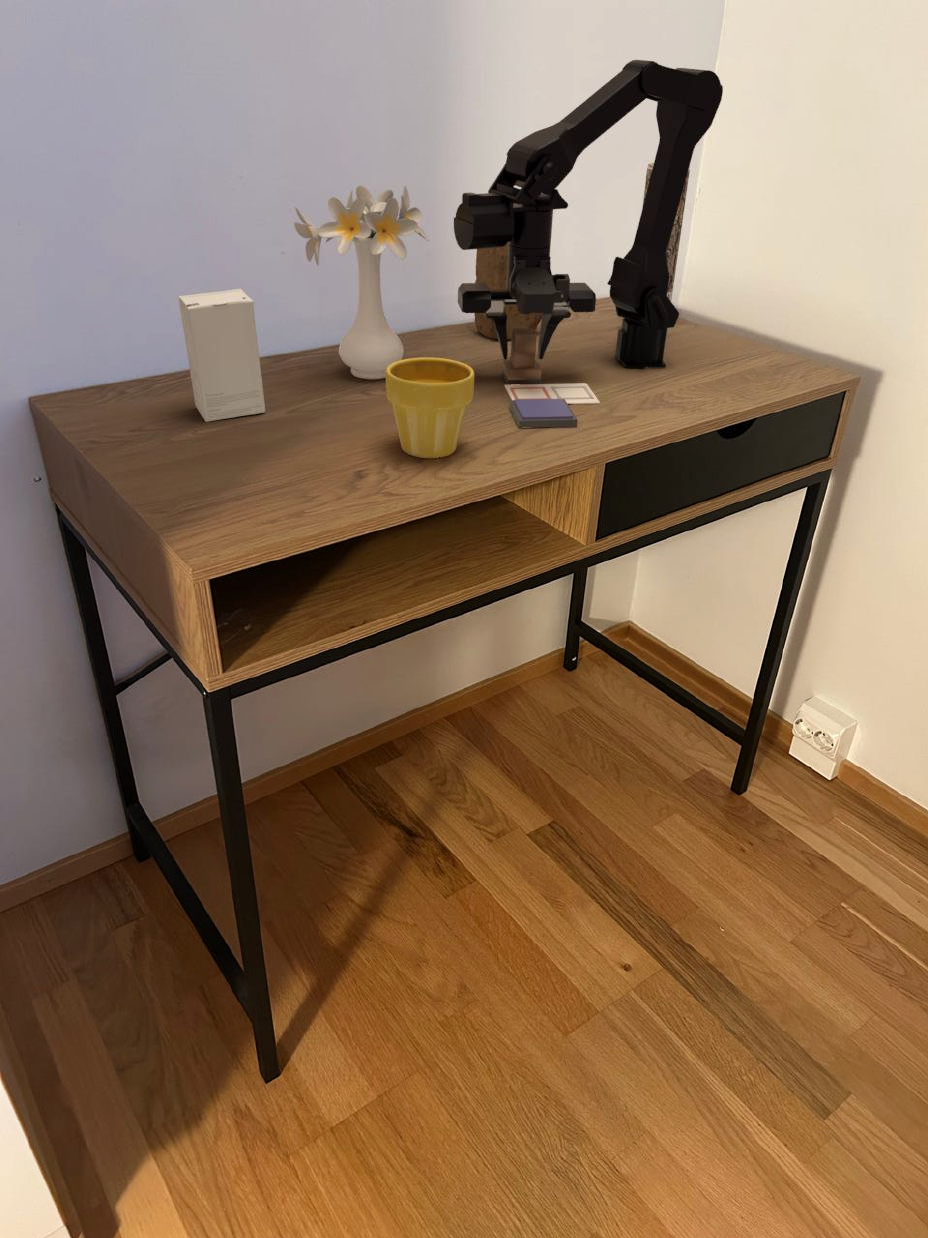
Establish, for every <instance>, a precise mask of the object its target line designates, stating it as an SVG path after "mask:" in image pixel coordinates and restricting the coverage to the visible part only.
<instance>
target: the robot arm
mask: <svg viewBox="0 0 928 1238" xmlns="http://www.w3.org/2000/svg"><path fill="white" fill-rule="evenodd" d="M723 92H724V86H723V84H722V82H721V80H720V77H719V76H718V75H717V74H716V72H714V71H712V70H709V69H707V70H706V69H696V68H686V67H676V68H672V67H668V66H664V65H662V64H659V63H658V62H657V61H655V60H654V61H653V60H644V59H643V60H642V59H632V60H630V61H628V63H626V64H625V65H624V66H623V68H622V70H621V71H619V72H618V73H617V74H616V75H614V76H613V77H612V78H611V79H609V80H608V82H606V83H605V84H604V85H602V86H601V87H600V88H598V90H596V91H595V92H594V93H592V95H590V96H589V97H588V98H586V99H585V100H584V101H583V102H581V103H580V104H579V105H578V106H577V107H575V108H574V109H573V110H572V111H570V112H569V113H568V114H567V115H565V116H564V118H562V119H560V121H558V122H556V123H555V124H552V125H550V126H548V127H545V128H542V129H540V130H536V131H535V132H534V131H533V132H532V133H530V134H529V135H527V136H524V137H523V138H521V139H519V140H517V141H516V142H515V143H514V144H512V146H511V147H509V149H508V151H507V152H506V161H505V163H504V165H503V167H502V168H501V170H500V171H499V173H498V175H497V176H496V178H495V179H494V181H493V182H492V185H490V187H489V189H488V191H487V192H486V193H474V192H463V193H462V194H461V195H462V197H461V203H460V204H459V205H458V207H457V209H456V212H455V217H453V232H454V233H453V234H454V237H455V241H456V244H457V245H458V247H459V248H460V249H461V250H463V251H469V250H477V249H484V248H496V247H504V246H505V245H506V244H507V243H508V242H509V246H508V266H507V283H506V290H490V289H489V287H488V286H487V284H486V283H475V282H469V283H468V282H466V283H465V282H462V283H461V284H460V285H459V287H457V288H458V290H457V304H458V306H459V308H460V311H461V313H464V314H474V313H483V314H484V316H485V317H486V318H488V319H492V322H493V324H494V327H495V330H496V333H497V337H498V339H497V340H498V344H499V347H500V350H501V355H502V358H503V360H508V349H509V348H508V347H509V346H508V345H509V344H508V340H507V327H506V323H507V314H506V313H505V311H504V304H517V309H518V311H519V312H520V313H522V314H530V313H542V318H541V321H540V328H539V336H538V343H537V344H538V347H537V348H538V351H537V353H538V355H537V357H538V359H539V360H542V359H543V358H544V355H545V353H546V351H547V348H548V346H549V344H550V341H551V339H552V337H553V335H554V333H555V331H556V329H557V327H558V326H559V324H560V323H561V322H562V321H563V320H564V319H569V318H571V317H572V313H571V312H570V309H571V311H572V312H573V313H594V312H596V303H597V297H596V296H597V295H596V293H595V292H594V290H593V289H592V288H591V287H590V286H589V285H588V284H587V283H586V282H571V278H570V275H569V274H568V273H555V274H553V273H552V269H551V268H552V267H551V266H552V265H551V258H552V257H551V243H552V242H551V241H552V233H553V232H552V230H553V217H554V216H553V215H554V210H565V209H567V208H568V207H569V204H568V202H567V201H566V200H565V198H563V197H562V196H561V194H560V192H559V189H557V188H558V186H560V184H561V183H562V182H563V181H564V180H565V178H566V177H567V176H568V175H569V174H570V173H571V172H572V171H573V169H574V166H575V165H576V162H577V160H578V158H579V156H580V155H581V154H582V153H583V151H584V150H586V148H588V147H589V146H590V145H591V144H593V143H594V142H595V141H596V140H598V139H599V138H600V137H601V136H603V134H605V133H606V132H607V131H609V130H610V129H611V128H613V126H615V125H616V124H617V123H619V122H620V121H621V120H622V119H623V118H624V117H625V116H627V115H628V114H629V113H630V112H631V111H633V110H634V109H635V108H637V107H638V106H639V105H640V104H641V103H642V102H644V101H645V100H650V101H654V102H657V103H656V113H655V118H656V123H657V128H658V134H659V140H658V146H657V150H656V154H655V157H654V162H653V163H654V165H653V169H652V173H651V177H650V181H649V185H648V189H647V193H646V196H645V200H644V204H643V203H642V207H643V208H641V213H640V217H639V221H638V225H637V229H636V232H635V236H634V241H633V244H632V247H631V248H630V249H629V250H628V252H627V253H626V254H625V256H624V257H623V258H622V257H620V256H615V258H614V261H613V265H612V272H611V276H610V278H609V280H608V282H607V285H608V286H610V287H609V297H610V299H611V301H612V303H613V304H614V306H615V311H616V315H617V317H620V318H622V321H621V323H622V324H621V328H619V329H618V330H617V337H616V345H615V353H614V356H615V358H617V359H618V361H619V363H621V365H622V366H623V367H625V368H627V369H629V368H631V369H634V368H636V369H637V368H638V369H639V368H666V367H667V363H666V361H664V356H665V346H666V341H667V333H668V329H670V328H674V327H675V326H676V323H677V321H678V319H679V316H680V312H679V310H678V309H677V308H676V306H675V305H674V303H672V300H671V301H670V300H669V298H668V297H667V292H668V285H669V270H668V265H667V259H666V252H667V248H668V244H669V240H670V237H671V233H672V229H673V226H674V222H675V218H676V214H677V211H678V207H679V203H680V200H681V196H682V192H683V189H684V185H685V181H686V177H687V174H688V170H689V169H690V168H689V166H690V165H691V162H692V159H693V155H694V151H695V148H696V146H697V144H698V143H699V142H700V140H702V138H703V136H704V135H705V134H706V133H707V132H708V130H710V128H711V126H712V125H713V122H714V120H715V117H716V115H717V112H718V110H719V107H720V104H721V102H722V100H723V99H722V98H723ZM690 167H691V166H690ZM518 187H519V188H518ZM512 297H515V298H512Z"/></svg>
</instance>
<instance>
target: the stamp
mask: <svg viewBox="0 0 928 1238" xmlns="http://www.w3.org/2000/svg"><path fill="white" fill-rule="evenodd" d="M537 336H538V334H537V333H536V330H535V331H534V330H533V329H512V340H511V344H510V359H506V360H504V359H503V360H502V372H501V373H502V376H503V378H504V380H505V382H506V385H508V384H509V385H511V384H542V383H541V382H542V371H543V370H542V368H541V366H540V365H539V363H538V361H537V359H536V352H537V351H536V350H537V339H538V337H537Z"/></svg>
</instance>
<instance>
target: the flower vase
mask: <svg viewBox="0 0 928 1238" xmlns="http://www.w3.org/2000/svg"><path fill="white" fill-rule="evenodd" d="M355 195H356V199H354V200H353V190H350V193H349V197H348V199H347V204H346V206H345V205H344V203H343V202H342V201H341V200H340V199H339V198H338V197H335V196H331V197H330V198H329V199H328V202H327V206H328V211H329V212H330V215H332V218H333V219H334V220H335V221H332V220H331V221H327V222H325V223H324V224H321V225H320V226H319V227H317V226H315V225H314V224H313V222H311V221H310V219H308V218H307V217H306V216H305V215H304V214H303V213H302V212H301V211H300V210H299V208H298V207H297V206H296V207H294V208H295V212H296V214H297V216H298V219H299V220H300V221H301V222H298V221H295V222H294V224H293V226H294V229H295V231H296V232H297V234H298V235H299V236H300V237H301V238H304V239H308V240H307V241H306V243H305V256H306V259H307V261H308V262H312V260H313V257H314V259H315V262H316V265H317V266H319V265H320V250H321V243H322V239H323V238H325V239H326V241H325V243H328V242H330V241H331V240H333V239H334V238H336V237H337V238H338V239H337V242H336V249H337V252H338V254H339V255H340V256H345V255H346V254H347V253H348V252H349V250H350V248H351V246H352V243H353V244H354V247H355V248H354V249H355V252H356V258H357V265H358V266H357V267H358V305H357V306H358V307H357V312H356V316H355V319H354V322H353V324H352V326H351V327H350V329H349V330H348V331H347V332H346V333H345V334H344V335H343V336H342V338H341V341H340V343H339V348H338V355H339V357H340V358H341V361H342V362H343V363H344V364H345V365H346V366H348V367H349V368H350V373H351V375H352V376H354V377H356V378H358V379H362V380H363V379H364V380H381V379H386V369H387V367H388V366H389V365H390V364H392V363H394V362H397V361H400V360H403V357H404V356H403V355H404V352H405V350H404V345H403V343H402V341H401V339H400V337H399V336H398V335H397V333H396V332H395V331H394V330H393V329H392V328H391V327H390V325H389V323H388V321H387V318H386V315H385V312H384V309H383V302H382V300H383V299H382V290H381V286H382V285H381V259H382V258H381V256H382V253H383V251H384V250H385V249H386V247H387V246H388V247H389V249H390V251H391V252H392V254H393V255H394V256H395V257H396V258H397V259H399V260H405V259H406V258H407V253H408V252H407V248H406V245H405V243H404V240H402V238H401V237H406V236H410V235H412V234H414V233H416V234H418V235H419V236H420V237H421V238H423V239H424V240H426V242H429V238H428V235H427V233H426V232H425V231H424V229H423V228H422V227H421V226H420V225H419V224H418V223H420V222H422V220H423V214H422V212H421V210H420V209H419V208H418V207H414V206H413V207H410V205H411V200H410V195H409V191H408V189H407V186H405V185H404V186H403V191H402V194H401V195H400V206H399V201H398V200H397V198H395V197H394V191H393V190H391V189H385V190H383V191H382V192H380V193H379V194H378V195H377V197H376V198H375V200H374V198H373V196H372V193H371V192H370V190H369V189H368V188H367V187H366V186H365V185H362V184H360V185H358V186H356V189H355Z"/></svg>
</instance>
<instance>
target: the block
mask: <svg viewBox="0 0 928 1238" xmlns="http://www.w3.org/2000/svg"><path fill="white" fill-rule="evenodd" d="M508 246H509V242H508V243H507V244H506V245H505V246H504V247H496V248H484V249H476V258H475V277H476V279H475V281H474V283H486V284H487V286H488V287H489V289H490V290H506V283H507V266H508ZM512 298H515V297H512ZM504 311H505V313H506V314H507V323H506V327H507V341H510V340H511V341H512V329H533V330H534V331H535V332H536V330H537V329H538V326H539V324H541V319H542V313H530V314H522V313H520V312H519V311H518V309H517V304H504ZM473 315H474V325H475V328H476V330H477V331H478V332H480V334H481V335H482V336H484V337H486V338H489V339H493V340H498V337H497V333H496V330H495V327H494V324H493V322H492V319H488V318H486V317H485V316H484V314H483V313H473Z"/></svg>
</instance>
